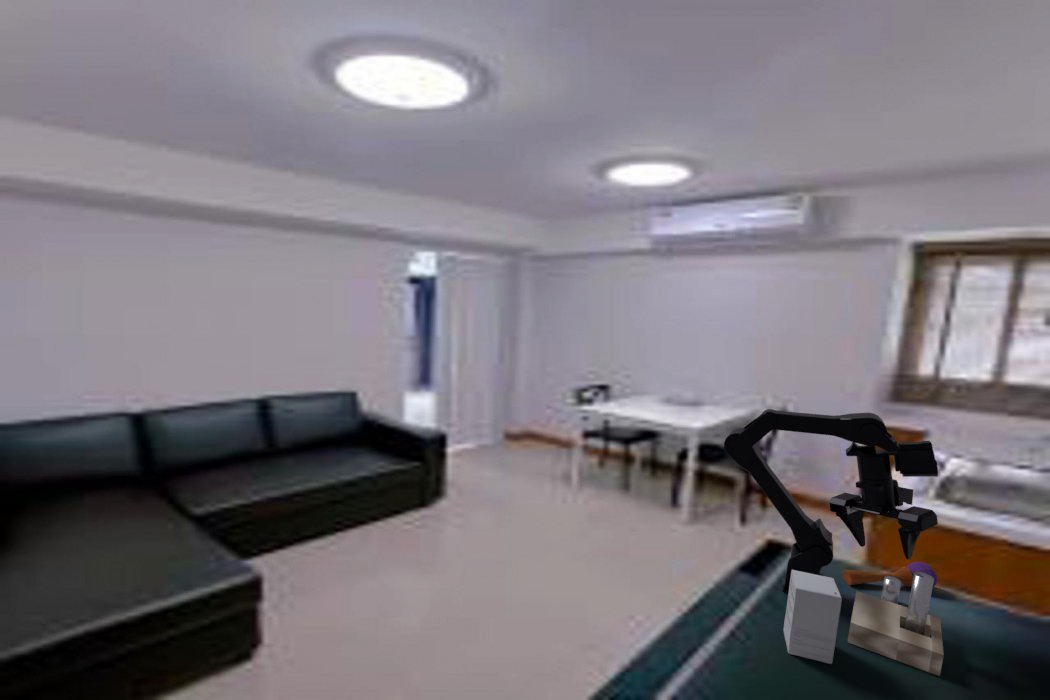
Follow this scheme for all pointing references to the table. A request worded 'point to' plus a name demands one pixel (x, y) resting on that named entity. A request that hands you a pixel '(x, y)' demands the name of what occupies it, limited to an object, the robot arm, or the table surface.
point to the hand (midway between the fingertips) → (884, 552)
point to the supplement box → (812, 616)
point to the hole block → (895, 634)
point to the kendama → (902, 574)
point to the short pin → (891, 589)
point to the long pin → (919, 602)
